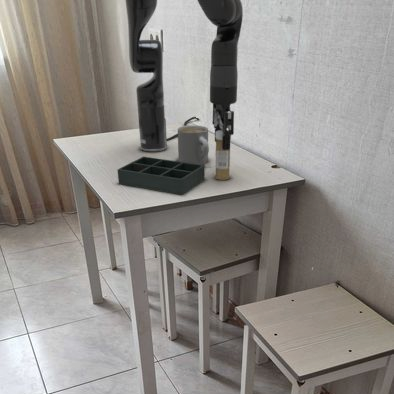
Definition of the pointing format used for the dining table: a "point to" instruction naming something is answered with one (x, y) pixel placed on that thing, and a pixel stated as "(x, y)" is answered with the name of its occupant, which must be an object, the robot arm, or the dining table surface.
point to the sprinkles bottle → (222, 159)
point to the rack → (161, 175)
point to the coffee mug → (193, 144)
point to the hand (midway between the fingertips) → (222, 145)
